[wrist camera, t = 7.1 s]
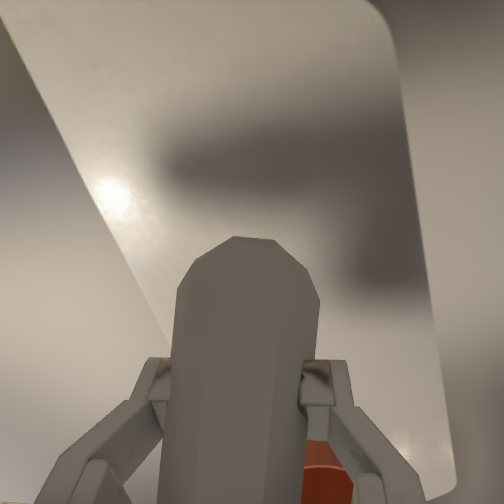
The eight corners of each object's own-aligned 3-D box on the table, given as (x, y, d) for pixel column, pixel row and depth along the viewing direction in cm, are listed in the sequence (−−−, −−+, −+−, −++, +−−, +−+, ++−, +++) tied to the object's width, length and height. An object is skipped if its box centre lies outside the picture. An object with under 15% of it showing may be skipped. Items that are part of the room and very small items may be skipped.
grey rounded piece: (188, 210, 15) (-60, 732, 4) (322, 222, 15) (465, 785, 4) (192, 312, 18) (62, 757, 7) (302, 322, 18) (347, 785, 7)
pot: (365, 420, 47) (374, 467, 42) (358, 466, 54) (366, 511, 49) (275, 418, 48) (274, 463, 43) (279, 463, 55) (279, 507, 50)
